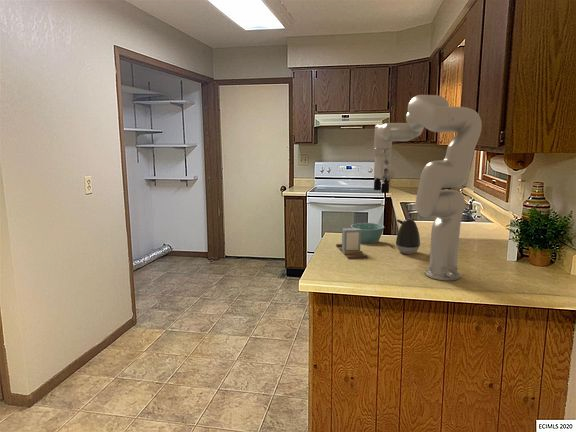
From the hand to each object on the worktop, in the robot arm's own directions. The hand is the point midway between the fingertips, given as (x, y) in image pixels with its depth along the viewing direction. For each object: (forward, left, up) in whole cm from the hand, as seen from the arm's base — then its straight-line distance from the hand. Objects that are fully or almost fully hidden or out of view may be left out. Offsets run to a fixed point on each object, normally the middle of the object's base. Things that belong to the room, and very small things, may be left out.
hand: (381, 191), depth 186 cm
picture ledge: (-9, +16, -26) cm, 32 cm away
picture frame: (-9, +16, -25) cm, 31 cm away
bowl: (+12, +2, -27) cm, 29 cm away
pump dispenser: (-8, -10, -27) cm, 30 cm away
